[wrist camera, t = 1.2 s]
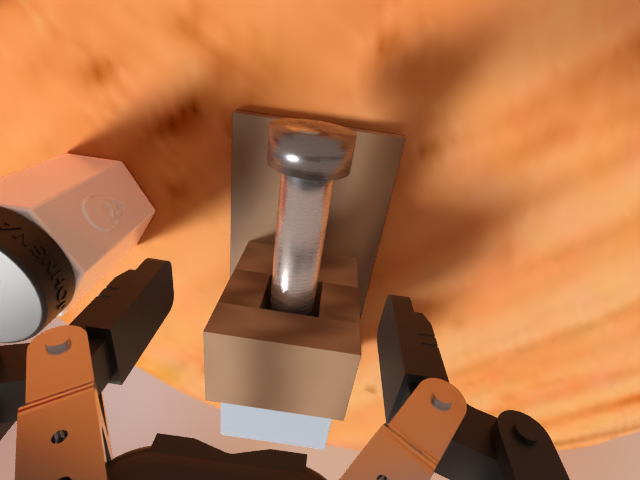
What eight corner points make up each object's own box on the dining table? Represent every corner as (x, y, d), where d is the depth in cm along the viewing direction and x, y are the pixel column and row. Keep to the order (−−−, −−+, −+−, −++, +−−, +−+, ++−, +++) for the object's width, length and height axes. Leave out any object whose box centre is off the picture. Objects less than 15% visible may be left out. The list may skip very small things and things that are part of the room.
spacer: (335, 336, 32) (332, 417, 25) (329, 366, 34) (324, 449, 27) (248, 323, 32) (220, 400, 25) (246, 354, 34) (220, 434, 27)
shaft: (277, 114, 21) (260, 131, 16) (355, 126, 21) (358, 146, 17) (257, 387, 32) (244, 436, 28) (307, 395, 32) (301, 445, 28)
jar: (174, 231, 30) (82, 329, 20) (100, 259, 32) (-18, 362, 22) (107, 132, 27) (-50, 189, 16) (28, 171, 29) (-157, 244, 18)
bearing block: (403, 135, 25) (440, 195, 15) (346, 367, 37) (345, 488, 27) (236, 109, 25) (162, 152, 15) (231, 350, 37) (188, 465, 27)
